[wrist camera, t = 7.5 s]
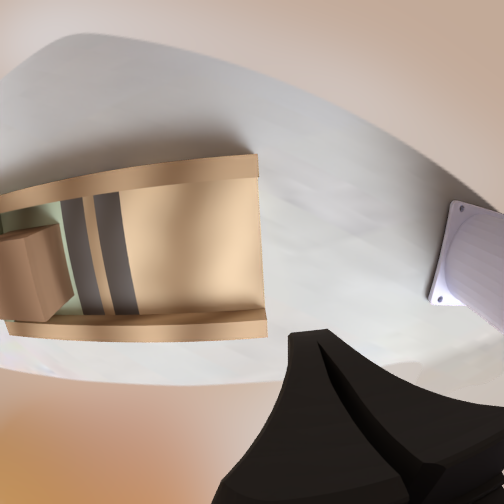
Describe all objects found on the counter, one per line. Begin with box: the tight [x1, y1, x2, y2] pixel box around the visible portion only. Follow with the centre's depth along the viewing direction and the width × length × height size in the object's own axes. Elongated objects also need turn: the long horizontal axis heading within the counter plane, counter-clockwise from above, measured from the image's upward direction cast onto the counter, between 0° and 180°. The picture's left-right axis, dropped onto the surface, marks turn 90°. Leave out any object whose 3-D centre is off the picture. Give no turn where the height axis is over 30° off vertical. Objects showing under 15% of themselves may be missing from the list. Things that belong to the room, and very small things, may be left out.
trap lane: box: [0, 154, 268, 342], centre depth 17 cm, size 20×10×2 cm, turn 94°
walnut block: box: [0, 223, 74, 322], centre depth 16 cm, size 5×5×4 cm
